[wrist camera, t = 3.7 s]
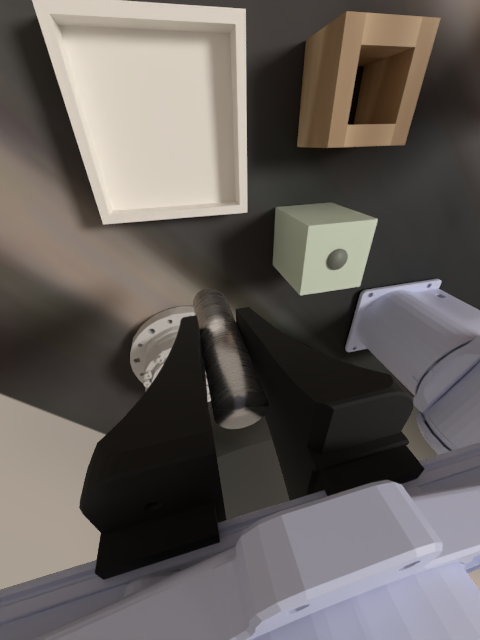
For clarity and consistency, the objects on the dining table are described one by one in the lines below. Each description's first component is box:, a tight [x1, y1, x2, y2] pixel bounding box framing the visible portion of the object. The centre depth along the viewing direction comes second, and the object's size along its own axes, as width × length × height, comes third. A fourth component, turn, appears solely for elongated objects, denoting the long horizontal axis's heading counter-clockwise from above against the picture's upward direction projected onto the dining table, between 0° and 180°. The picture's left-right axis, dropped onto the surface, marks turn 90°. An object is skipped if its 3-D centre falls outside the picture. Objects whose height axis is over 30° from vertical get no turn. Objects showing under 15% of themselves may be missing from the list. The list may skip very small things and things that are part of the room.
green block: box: [273, 203, 378, 295], centre depth 19 cm, size 5×5×6 cm
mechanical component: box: [130, 306, 211, 402], centre depth 23 cm, size 10×4×10 cm
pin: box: [193, 288, 269, 429], centre depth 11 cm, size 2×2×7 cm
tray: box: [32, 0, 247, 225], centre depth 15 cm, size 9×9×2 cm
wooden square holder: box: [297, 11, 440, 148], centre depth 15 cm, size 5×5×4 cm
